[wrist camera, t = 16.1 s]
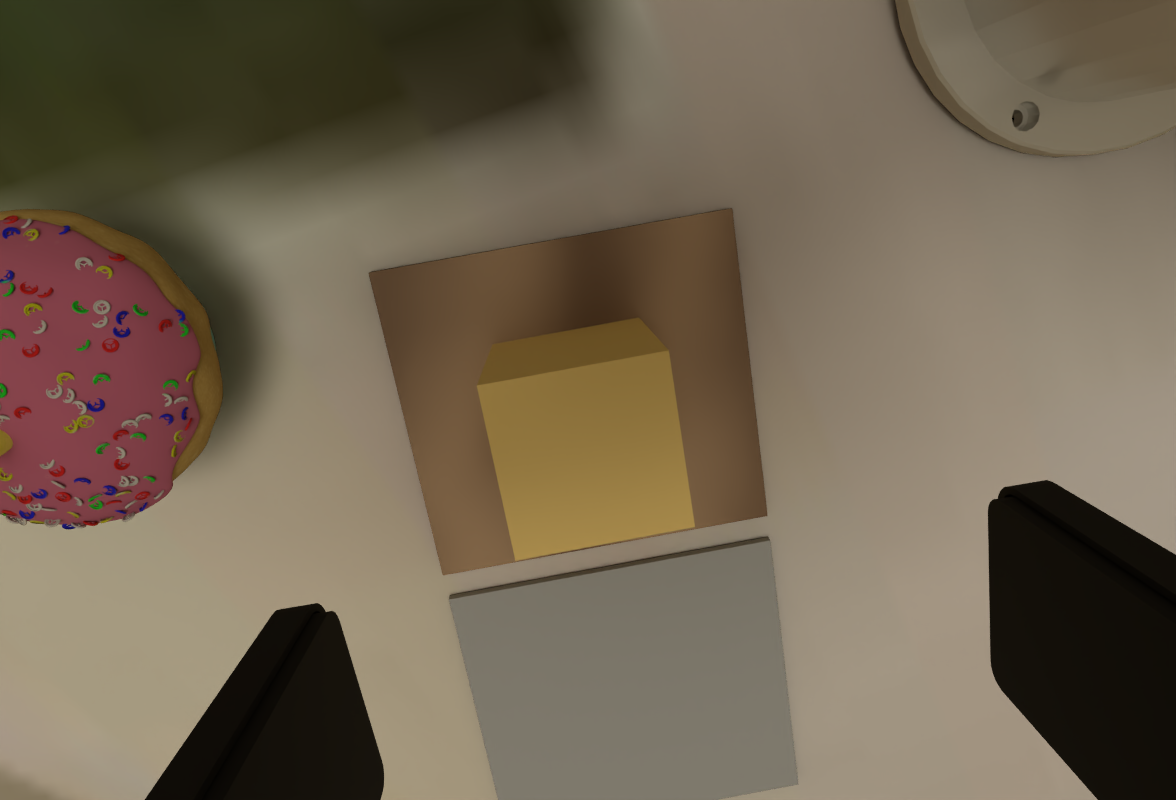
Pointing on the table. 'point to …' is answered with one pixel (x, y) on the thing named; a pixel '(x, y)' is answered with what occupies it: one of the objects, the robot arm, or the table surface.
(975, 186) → the table surface
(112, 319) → the cupcake
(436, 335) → the walnut mat
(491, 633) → the grey mat
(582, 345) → the mustard block
